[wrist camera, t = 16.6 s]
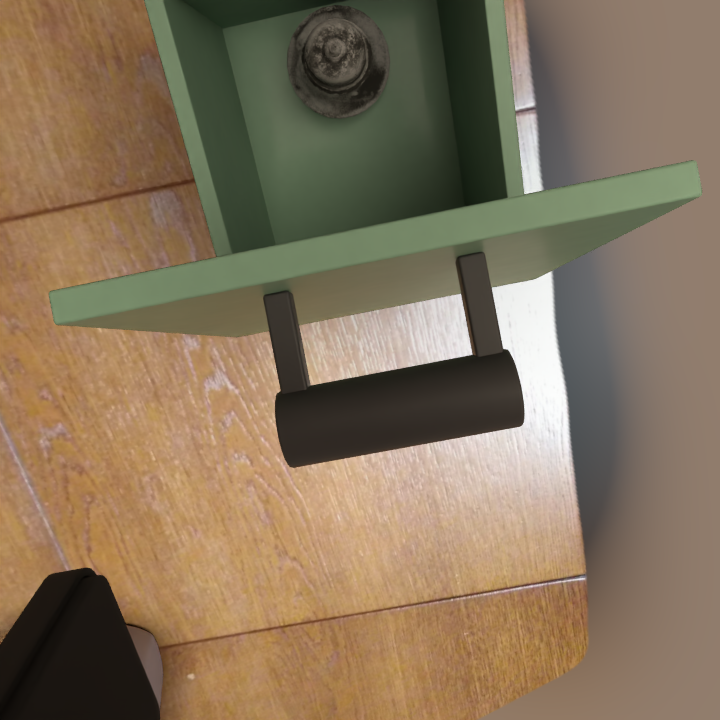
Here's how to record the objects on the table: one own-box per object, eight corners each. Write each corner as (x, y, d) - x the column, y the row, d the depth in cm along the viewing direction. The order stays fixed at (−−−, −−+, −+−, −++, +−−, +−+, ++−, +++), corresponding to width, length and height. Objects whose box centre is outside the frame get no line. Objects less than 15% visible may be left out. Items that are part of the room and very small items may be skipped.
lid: (46, 291, 14) (91, 519, 14) (697, 158, 14) (743, 402, 14) (232, 321, 31) (253, 428, 31) (533, 262, 30) (554, 372, 30)
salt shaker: (288, 16, 38) (261, -26, 27) (385, 12, 38) (399, -32, 27) (296, 120, 41) (274, 121, 29) (388, 116, 41) (401, 115, 29)
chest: (208, 19, 39) (134, -34, 26) (443, -35, 38) (491, -117, 25) (270, 264, 45) (235, 326, 31) (477, 222, 44) (532, 268, 30)
